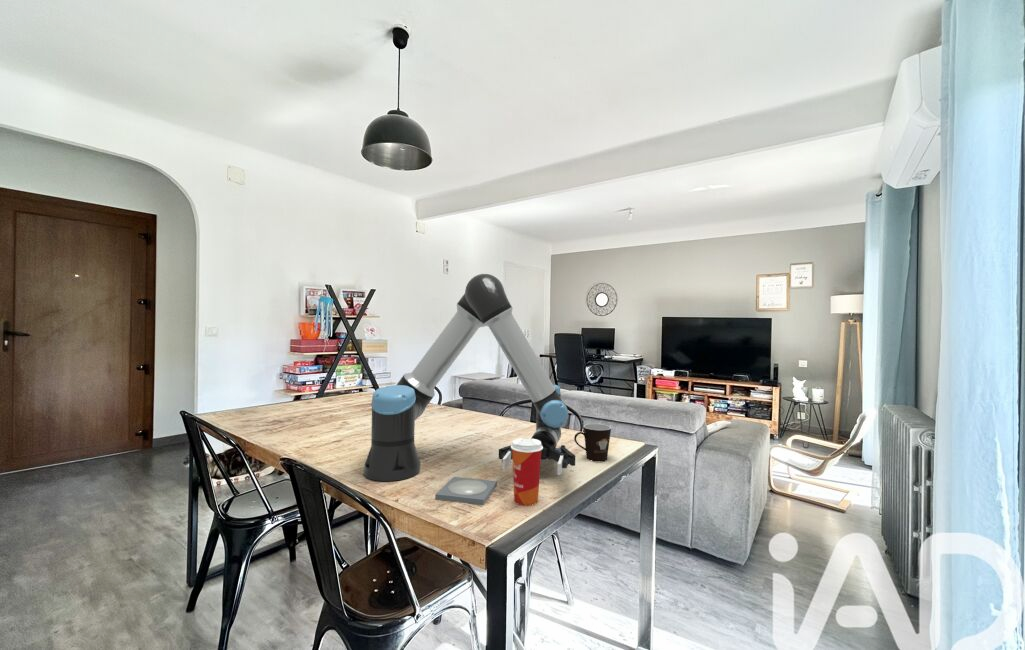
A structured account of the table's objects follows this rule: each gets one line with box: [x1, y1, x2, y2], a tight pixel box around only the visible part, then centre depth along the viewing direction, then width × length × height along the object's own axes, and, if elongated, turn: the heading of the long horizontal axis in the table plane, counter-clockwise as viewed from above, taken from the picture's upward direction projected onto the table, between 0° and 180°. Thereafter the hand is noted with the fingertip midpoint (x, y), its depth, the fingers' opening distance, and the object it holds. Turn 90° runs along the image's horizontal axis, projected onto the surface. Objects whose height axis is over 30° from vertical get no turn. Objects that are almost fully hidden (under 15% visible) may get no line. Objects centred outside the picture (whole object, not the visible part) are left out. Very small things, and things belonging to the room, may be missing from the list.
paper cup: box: [510, 437, 543, 506], centre depth 99 cm, size 8×8×14 cm
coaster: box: [434, 476, 498, 506], centre depth 103 cm, size 12×12×1 cm
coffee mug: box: [573, 423, 612, 462], centre depth 132 cm, size 12×9×10 cm
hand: (531, 466), depth 101 cm, fingers open, 13 cm apart
